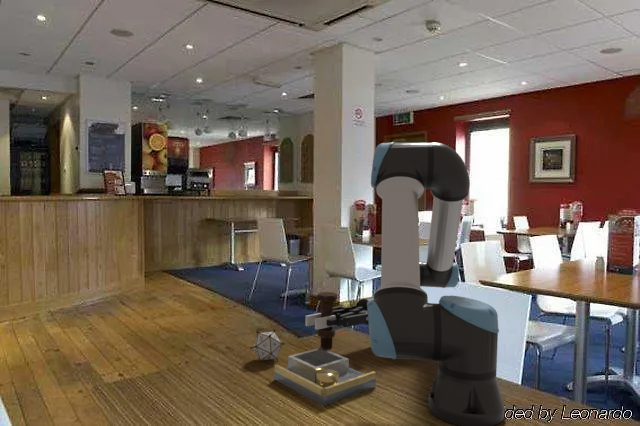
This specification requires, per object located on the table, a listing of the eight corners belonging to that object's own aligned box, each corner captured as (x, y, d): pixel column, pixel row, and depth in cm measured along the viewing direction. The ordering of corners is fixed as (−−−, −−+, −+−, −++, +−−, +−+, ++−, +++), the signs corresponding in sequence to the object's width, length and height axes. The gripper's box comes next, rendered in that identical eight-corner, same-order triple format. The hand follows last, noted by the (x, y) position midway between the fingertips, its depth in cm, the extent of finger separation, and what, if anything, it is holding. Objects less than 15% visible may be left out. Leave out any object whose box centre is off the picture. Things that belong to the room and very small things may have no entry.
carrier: (375, 387, 112) (375, 365, 112) (323, 406, 102) (323, 383, 102) (324, 364, 126) (325, 345, 126) (274, 379, 116) (274, 359, 116)
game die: (271, 376, 128) (278, 354, 122) (242, 362, 129) (247, 340, 123) (284, 350, 135) (291, 328, 129) (257, 338, 136) (262, 315, 130)
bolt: (333, 353, 127) (334, 296, 127) (314, 351, 128) (315, 295, 128) (337, 346, 133) (338, 292, 132) (319, 344, 134) (320, 291, 133)
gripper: (393, 328, 136) (331, 344, 121) (353, 317, 148) (292, 329, 133) (394, 302, 135) (331, 314, 120) (353, 292, 148) (292, 302, 133)
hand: (311, 322), depth 127 cm, fingers closed on bolt, 3 cm apart
